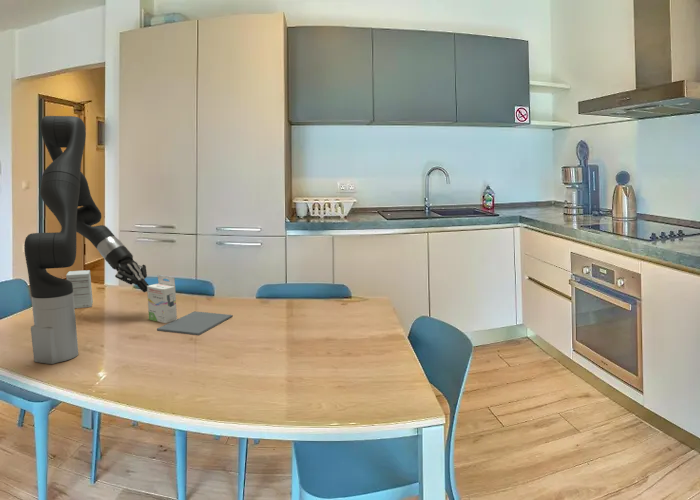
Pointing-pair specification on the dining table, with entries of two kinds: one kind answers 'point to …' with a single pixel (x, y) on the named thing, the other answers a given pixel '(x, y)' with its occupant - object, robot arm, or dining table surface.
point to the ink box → (162, 300)
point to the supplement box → (81, 288)
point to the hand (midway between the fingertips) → (147, 290)
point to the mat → (195, 323)
